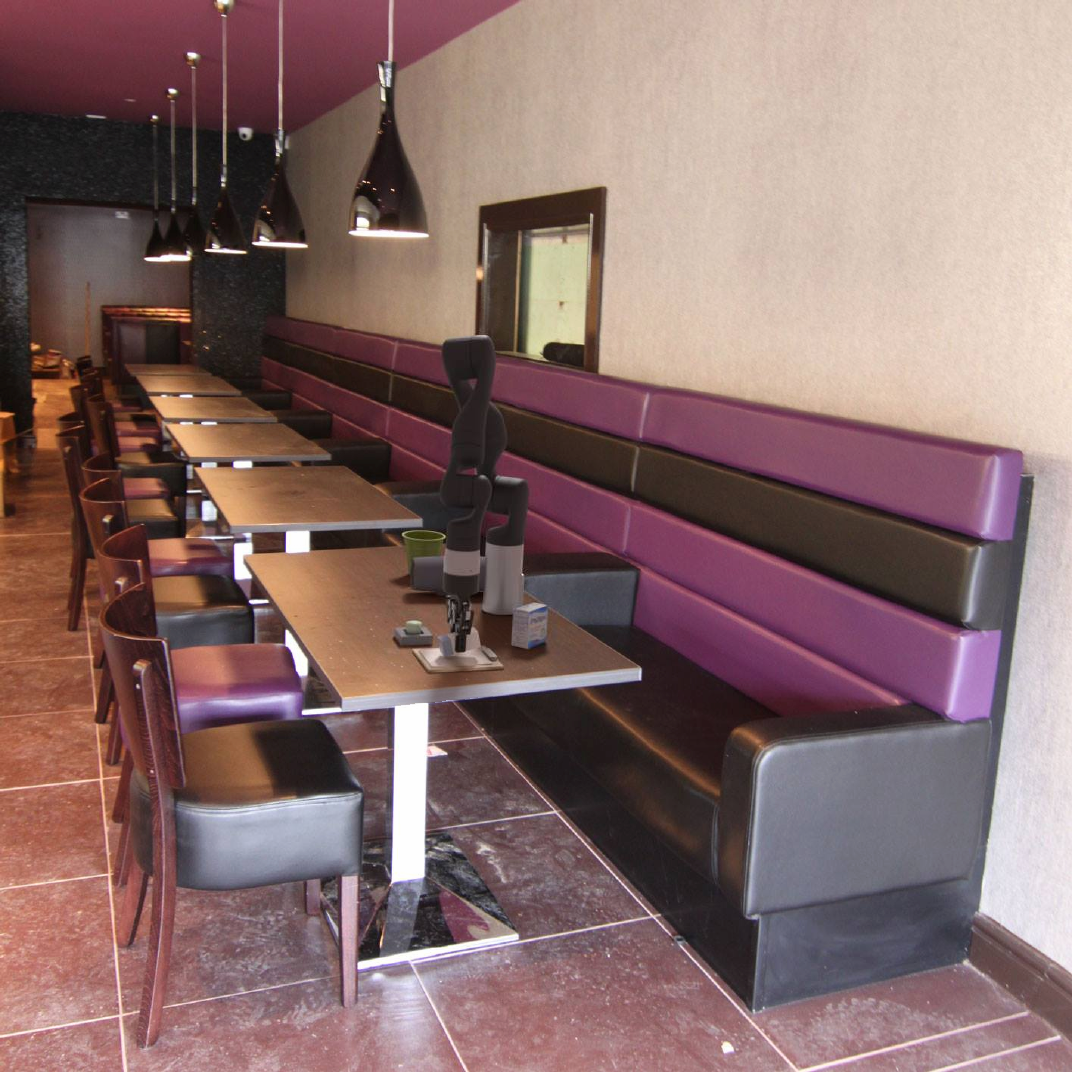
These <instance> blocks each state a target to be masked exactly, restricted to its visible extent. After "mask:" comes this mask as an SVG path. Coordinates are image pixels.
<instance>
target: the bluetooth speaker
mask: <svg viewBox="0 0 1072 1072" xmlns="http://www.w3.org/2000/svg"><path fill="white" fill-rule="evenodd" d="M444 556H445V555H441V556H440V555H439V556H436V557H418V558H412V563H411V569H410V575H409V584H410V588H411V589H412V591H417V592H418V591H419V592H431V593H432V592H433V593H435V595H437V596H450V595H451V594H448V593H446V592H444V591H443V570H444ZM484 569H485V556H480V574H479V591H478V592H483V588H484ZM474 595H476V594H472V595H471V596H474Z"/></svg>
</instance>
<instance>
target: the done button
mask: <svg viewBox="0 0 1072 1072" xmlns="http://www.w3.org/2000/svg"><path fill="white" fill-rule="evenodd" d="M422 624H423V623H422V622H421V621H419V620H408V621H406V623H405V627H406V634H407V635H409V634H421V629H422V627H423V625H422Z"/></svg>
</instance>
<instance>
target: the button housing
mask: <svg viewBox="0 0 1072 1072" xmlns="http://www.w3.org/2000/svg"><path fill="white" fill-rule="evenodd" d="M393 635H394V636H393V637H394V638H395V639H396V641H397V642H398V643H399V645H400V646H402V647H403V646H426V645H428V646H429V645H433V644H434V643H433V640H434V636H433V634H432V632H430V630H429V629H428V628H427V627H426V626H422V629H421V634H409V635H407V634H406V626H405V627H404V626H403V627H394V633H393Z"/></svg>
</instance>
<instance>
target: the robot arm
mask: <svg viewBox="0 0 1072 1072" xmlns="http://www.w3.org/2000/svg"><path fill="white" fill-rule="evenodd" d="M495 349H496V348H495V344H494V342H493V340H492V338H491V337H490V336H489V335H486V334H484V335H483V334H481V335H479V334H477V335H468V336H467V335H466V336H465V335H464V336H454V337H450V338H446V339H445V340H444V341H443V342H442V346H441V360H442V365H443V369H444V372H445V374H446V378H447V380H448V382H449V385H450V387H451V390H452V393H453V395H454V398H455V400H456V403H457V406H458V409H459V412H458V413H457V415H456V418H455V420H454V422H453V424H452V428H451V434H450V436H451V437H450V450H449V451H450V454H449V461H448V464H447V467H446V471H445V473H444V475H443V478H442V481H441V483H440V487H439V493H438V495H439V500H440V502H441V503H442V504H443V506H444V507H446V508H450V509H466V510H467V509H468V510H469V509H470V510H471V509H472V512H471V513H470V514H469V515H468V516H465V517H460V518H459V517H458V518H454V519H451V520H449V521H448V523H447V525H446V535H445V536H446V537H445V552H444V555H443V556H444V570H443V591H444V592H446V593H448V594H451V595H445V603H446V605H445V606H446V623H447V624H448V628H449V629H450V631H449V632H450V633H453V632H455V634H456V635H455V651H456V652H457V653H463V652H465V651H466V636H467V635H470V633H471V628H472V627H473V623H474V622H473V621H474V618H475V611H474V610H472V602H471V598H470V597H471V596H473V595H472V594H475V595H476V594H478V593H479V592H480V591H479V574H480V557H481V554H480V553H481V552H480V548H481V536H482V535H481V534H482V533H481V531H482V525H483V521H484V517H485V514H486V512H487V513H490V514H496V515H502V516H508V520H507V523H504V524H502V525H500V526H495V527H491V528H489V529H487V531H486V534H485V553H484V554H485V555H484V557H485V569H484V588H483V591H482V592H483V593H482V611H483V612H485V613H488V614H491V615H497V616H510V615H512V616H513V609H516V608H518V607H521V606H524V591H525V590H524V589H525V574H523V563H524V562H523V561H524V544H525V535H526V529H527V520H528V519H527V517H528V510H529V501H530V487H529V483H528V482H527V480H526V479H524V478H519V477H513V476H512V477H510V476H502V475H499V474H498V473H497V469H496V466H497V463H498V461H499V460H500V458H501V456H502V455H503V453H504V451H505V449H506V447H507V446H508V445H507V444H508V440H509V439H508V438H509V437H508V433H507V432H508V431H507V428H506V424H505V421H504V416H503V413H501V411H500V410H499V408H498V407H496V405H495V404H493V402H491V401H490V400H491V396H492V390H493V385H494V380H495V374H496V364H497V363H496V361H497V359H496V350H495ZM471 380H476V382H475V385H474V386H473V384H472V383H471ZM473 469H475V471H476V472H475V473H476V474H466V473H464V474H463V473H462V472H464V471H467V470H473ZM463 627H464V628H463Z"/></svg>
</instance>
